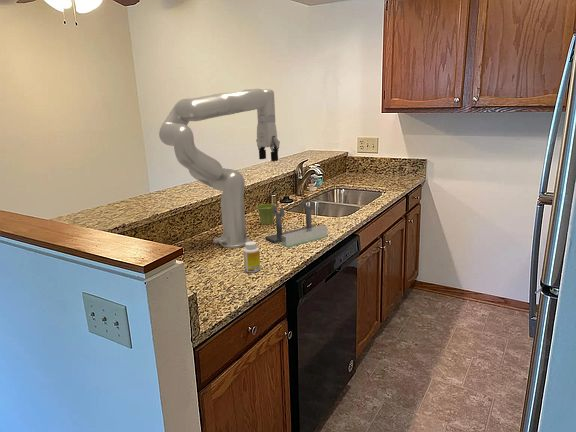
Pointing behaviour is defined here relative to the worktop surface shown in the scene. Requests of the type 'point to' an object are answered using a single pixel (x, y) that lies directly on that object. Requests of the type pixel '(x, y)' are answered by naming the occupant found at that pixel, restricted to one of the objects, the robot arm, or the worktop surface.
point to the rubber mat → (304, 241)
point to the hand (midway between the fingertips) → (268, 160)
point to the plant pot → (266, 213)
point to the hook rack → (277, 237)
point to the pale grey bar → (304, 235)
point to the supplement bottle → (251, 257)
